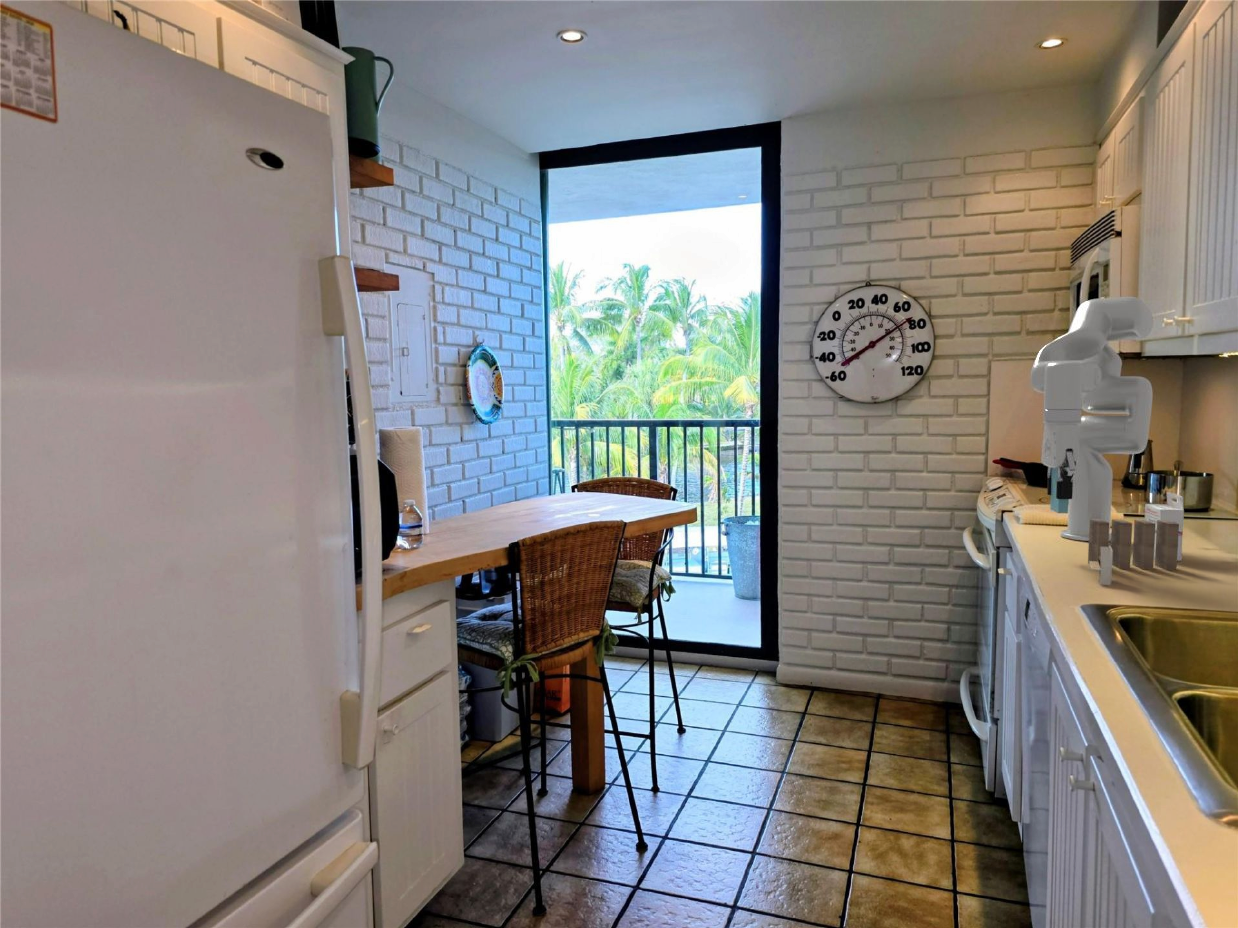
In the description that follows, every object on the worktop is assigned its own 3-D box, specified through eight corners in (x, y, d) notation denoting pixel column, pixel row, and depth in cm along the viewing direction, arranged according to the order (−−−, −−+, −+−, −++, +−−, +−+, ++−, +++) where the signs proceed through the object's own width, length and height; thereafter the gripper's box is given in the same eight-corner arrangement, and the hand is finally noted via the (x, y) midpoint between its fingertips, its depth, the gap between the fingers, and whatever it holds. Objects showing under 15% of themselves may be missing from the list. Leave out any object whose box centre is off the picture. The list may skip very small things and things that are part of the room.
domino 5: (1154, 565, 176) (1157, 520, 175) (1164, 565, 176) (1167, 520, 175) (1166, 570, 171) (1168, 523, 170) (1176, 570, 171) (1179, 524, 170)
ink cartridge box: (1141, 553, 189) (1144, 490, 188) (1164, 553, 188) (1168, 491, 187) (1157, 560, 181) (1161, 495, 179) (1182, 561, 180) (1186, 496, 178)
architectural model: (1091, 585, 160) (1092, 549, 159) (1088, 578, 166) (1090, 543, 166) (1111, 587, 159) (1112, 550, 158) (1108, 580, 165) (1109, 544, 164)
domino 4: (1132, 564, 177) (1134, 519, 176) (1142, 564, 176) (1144, 519, 175) (1142, 569, 172) (1145, 523, 171) (1153, 570, 171) (1155, 523, 170)
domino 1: (1050, 509, 186) (1051, 466, 185) (1059, 509, 185) (1061, 466, 184) (1058, 513, 181) (1059, 469, 180) (1067, 513, 180) (1069, 469, 179)
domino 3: (1109, 564, 177) (1112, 519, 177) (1119, 564, 177) (1121, 519, 176) (1119, 569, 173) (1122, 523, 172) (1130, 569, 172) (1132, 523, 171)
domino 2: (1087, 563, 178) (1089, 518, 177) (1097, 563, 178) (1099, 519, 177) (1097, 568, 173) (1099, 522, 172) (1107, 568, 173) (1109, 522, 172)
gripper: (1031, 415, 190) (1029, 491, 192) (1057, 419, 173) (1055, 503, 175) (1066, 414, 188) (1063, 491, 190) (1095, 419, 172) (1092, 503, 174)
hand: (1059, 496), depth 183 cm, fingers closed on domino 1, 4 cm apart
